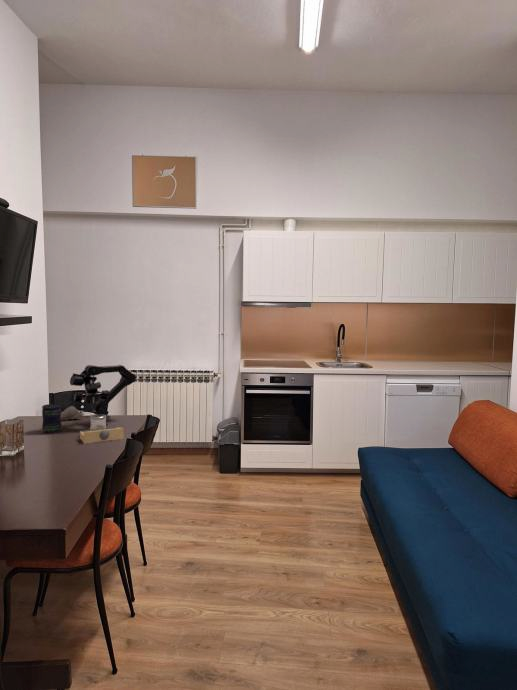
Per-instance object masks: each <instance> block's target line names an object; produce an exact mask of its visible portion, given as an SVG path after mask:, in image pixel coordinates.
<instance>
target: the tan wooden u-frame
mask: <svg viewBox="0 0 517 690" xmlns="http://www.w3.org/2000/svg"><path fill="white" fill-rule="evenodd" d="M88 431H89V432H88ZM88 431H79V440H80V441H81V440H82V441H81V442H82V443H83V444H84V445H87V443H88V444H94V443H101V442H102V443H103V441H104V442H110V441H109V440H112V441H117V440H118V439H119V440H124V437H125V436H124V431H125V429H124V427H115V428H106V430H97V431H91V430H88Z"/></svg>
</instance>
